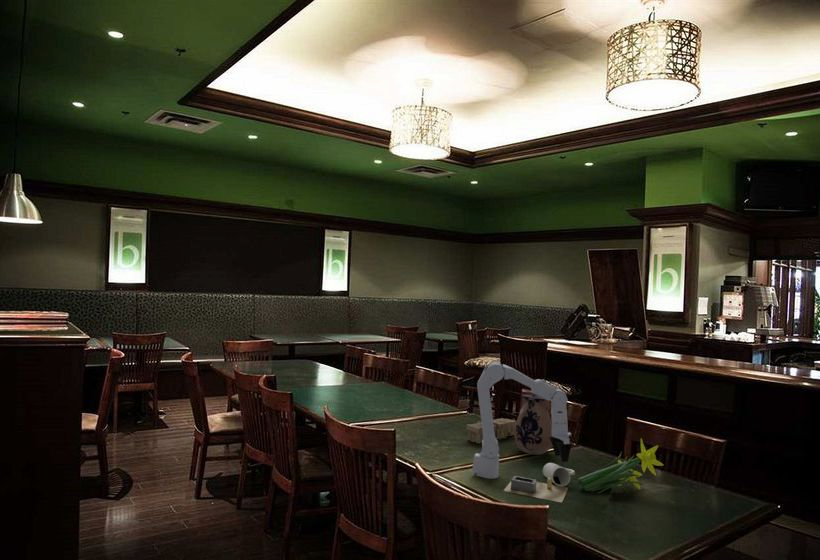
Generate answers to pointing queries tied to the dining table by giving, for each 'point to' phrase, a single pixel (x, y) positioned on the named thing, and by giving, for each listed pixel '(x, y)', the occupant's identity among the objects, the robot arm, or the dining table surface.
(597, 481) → the daffodil flowers
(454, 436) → the dining table surface
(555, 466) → the mug
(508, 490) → the birch board
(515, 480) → the dark grey open box
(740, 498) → the dining table surface
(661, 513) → the dining table surface
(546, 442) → the ceramic pitcher
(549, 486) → the brass knob
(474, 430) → the tan block
